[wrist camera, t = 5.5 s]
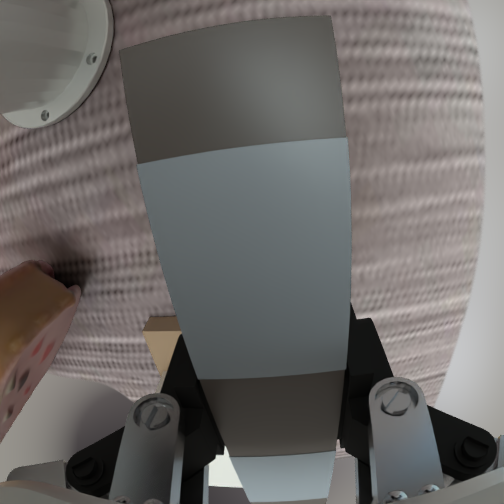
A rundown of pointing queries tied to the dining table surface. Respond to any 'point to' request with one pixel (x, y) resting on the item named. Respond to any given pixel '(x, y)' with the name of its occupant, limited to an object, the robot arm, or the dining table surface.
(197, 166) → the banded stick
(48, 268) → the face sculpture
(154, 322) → the white block on board
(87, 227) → the dining table surface
